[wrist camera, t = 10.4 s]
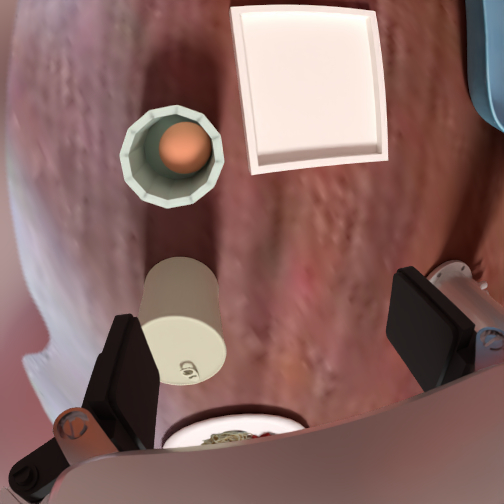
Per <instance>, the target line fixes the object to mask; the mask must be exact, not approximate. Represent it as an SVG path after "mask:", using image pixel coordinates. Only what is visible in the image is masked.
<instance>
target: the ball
mask: <svg viewBox="0 0 504 504" xmlns="http://www.w3.org/2000/svg"><path fill="white" fill-rule="evenodd" d="M211 148H212V145H211V140H210V137H209V135H208V133H207V132H206V131H205V130H204V128H202V127H201V126H200V125H198V124H196V123H192V122H180V123H176V124H174V125H172V126H171V127H169V128H168V129H167V130H166V131H165V132H164V134H163V135H162V137H161V139H160V142H159V155H160V158H161V160H162V162H163V163H164V165H165V166H166V167H167V168H169V169H170V170H172V171H174V172H176V173H181V174H188V173H192V172H195V171H197V170H199V169H200V168H202V167H203V166H204V165H205V164H206V162H207V161H208V159H209V157H210V154H211Z"/></svg>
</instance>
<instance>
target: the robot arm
mask: <svg viewBox="0 0 504 504" xmlns="http://www.w3.org/2000/svg"><path fill="white" fill-rule="evenodd" d="M485 288H487V282H486V281H482V282H479V283H477V282H476V281H475V280H474V279H472V274H471V270H470V268H469V267H468V266H467V265H466V264H465V263H463V262H462V261H459V260H450V261H447V262H445V263H443V264H441V265H440V266H438V267H437V268H436V269H434V270H433V271H432V272H431V273H430V274H429V275H428V277H427V278H426V277H424V276H423V275H422V274H421V273H420V272H419V271H418V270H417V269H415V268H414V267H413V266H409V267H405V268H400V269H398V270H397V273H395V274H394V276H393V283H392V291H391V299H390V306H389V313H388V320H387V326H386V335H387V338H388V339H389V341H390V342H391V344H392V345H393V346H394V348H395V349H396V351H397V352H398V354H399V355H400V357H401V358H402V359H403V361H404V362H405V364H406V365H407V367H408V368H409V370H410V371H411V373H412V374H413V376H414V377H415V379H416V380H417V382H418V383H419V385H420V386H421V388H422V389H423V391H424V393H421V394H419V395H416V396H414V397H411V398H408V399H405V400H403V401H400V402H397V403H394V404H391V405H388V406H385V407H382V408H379V409H376V410H372V411H369V412H366V413H363V414H359V415H356V416H353V417H349V418H345V419H342V420H338V421H334V422H330V423H326V424H322V425H318V426H314V427H310V428H306V429H301V430H296V431H292V432H287V433H282V434H276V435H271V436H266V437H260V438H254V439H247V440H241V441H234V442H226V443H218V444H209V445H199V446H189V447H177V448H162V449H154V437H155V425H156V415H157V404H158V395H159V385H160V374H159V371H158V368H157V366H156V363H155V361H154V358H153V356H152V353H151V351H150V348H149V346H148V343H147V340H146V338H145V335H144V332H143V330H142V327H141V324H140V321H139V319H138V318H137V317H133V315H132V314H123V315H116V316H115V318H114V320H113V323H112V326H111V329H110V331H109V334H108V337H107V340H106V343H105V345H104V348H103V351H102V353H100V354H99V355H98V357H97V360H96V363H95V366H94V369H93V372H92V375H91V378H90V381H89V384H88V387H87V391H86V394H85V397H84V400H83V404H82V407H81V408H80V407H75V408H70V409H67V410H65V411H64V412H62V413H61V414H60V415H59V416H58V417H57V418H56V420H55V422H54V424H53V434H54V438H52V439H51V440H50V441H48V442H47V443H45V444H44V445H42V446H41V447H39V448H38V449H36V450H35V451H33V452H32V453H30V454H29V455H27V456H26V457H24V458H23V459H21V460H20V461H18V462H17V463H16V464H15V465H14V466H13V467H12V469H11V470H10V473H9V485H10V486H9V487H8V488H5V487H3V488H2V489H1V490H0V504H504V307H502V306H501V305H500V304H499V303H498V302H497V301H496V300H494V299H493V298H492V297H491V296H490V295H489V293H488V291H487V290H482V289H485Z"/></svg>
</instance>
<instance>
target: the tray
mask: <svg viewBox="0 0 504 504" xmlns="http://www.w3.org/2000/svg"><path fill="white" fill-rule="evenodd" d="M229 16H230V24H231V32H232V39H233V47H234V55H235V63H236V71H237V79H238V87H239V95H240V103H241V111H242V119H243V127H244V135H245V143H246V151H247V159H248V168H249V172H250V174H251V175H255V174H262V173H269V172H277V171H285V170H293V169H301V168H310V167H319V166H328V165H338V164H349V163H361V162H373V161H387V160H388V137H387V114H386V98H385V85H384V74H383V64H382V55H381V47H380V39H379V32H378V25H377V19H376V13H375V11H369V10H362V9H353V8H343V7H331V6H315V5H254V6H237V7H230V10H229Z"/></svg>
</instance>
